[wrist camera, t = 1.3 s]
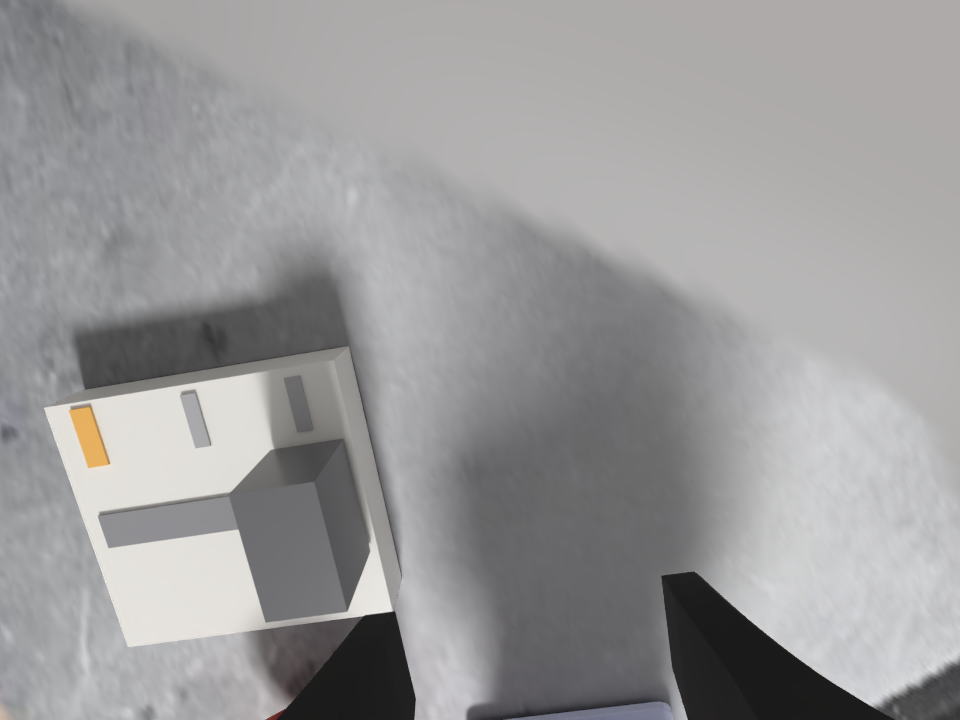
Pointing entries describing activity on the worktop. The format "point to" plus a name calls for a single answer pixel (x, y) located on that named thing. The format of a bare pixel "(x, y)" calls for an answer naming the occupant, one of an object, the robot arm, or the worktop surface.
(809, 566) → the worktop surface
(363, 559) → the fader knob
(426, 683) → the worktop surface
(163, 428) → the console
